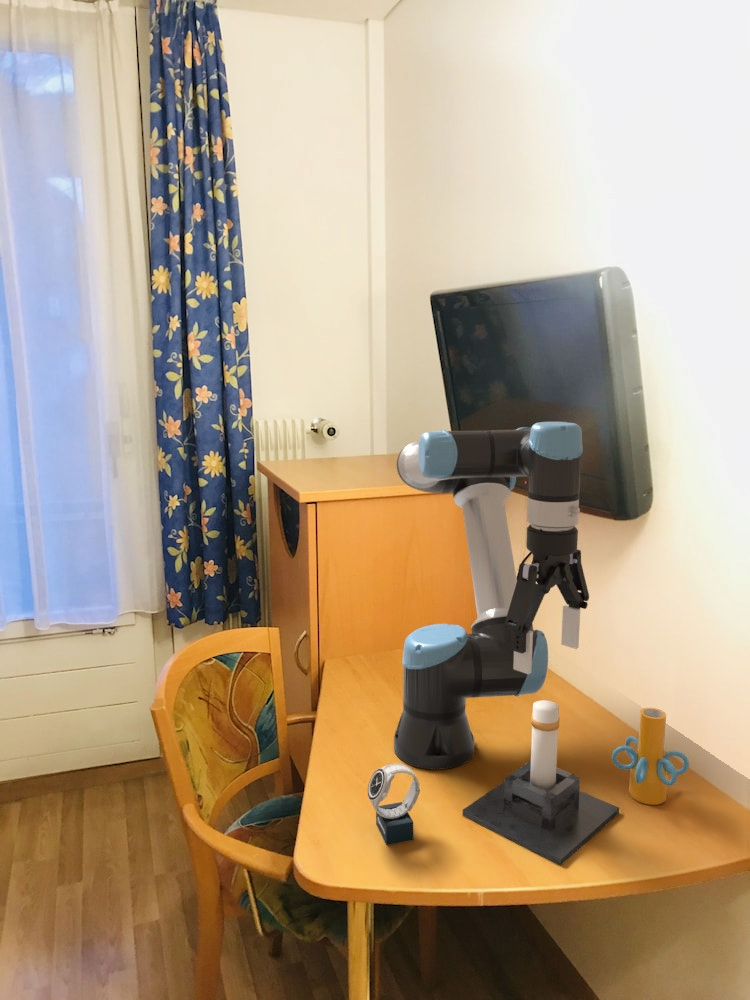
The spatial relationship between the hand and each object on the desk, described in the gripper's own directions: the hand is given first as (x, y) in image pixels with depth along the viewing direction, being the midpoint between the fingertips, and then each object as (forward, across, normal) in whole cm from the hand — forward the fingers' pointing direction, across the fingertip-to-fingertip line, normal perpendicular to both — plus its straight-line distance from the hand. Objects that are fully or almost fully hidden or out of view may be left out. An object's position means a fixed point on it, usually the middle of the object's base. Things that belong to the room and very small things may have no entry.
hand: (546, 658), depth 121 cm
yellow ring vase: (+27, +17, -10) cm, 33 cm away
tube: (+26, 0, 0) cm, 26 cm away
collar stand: (+27, 0, 0) cm, 27 cm away
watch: (+27, -20, +14) cm, 36 cm away
